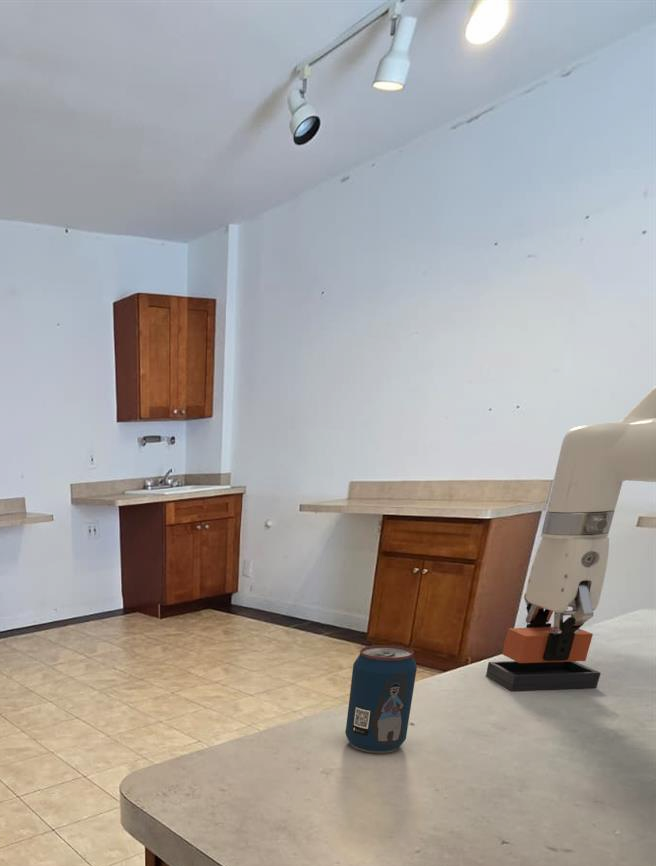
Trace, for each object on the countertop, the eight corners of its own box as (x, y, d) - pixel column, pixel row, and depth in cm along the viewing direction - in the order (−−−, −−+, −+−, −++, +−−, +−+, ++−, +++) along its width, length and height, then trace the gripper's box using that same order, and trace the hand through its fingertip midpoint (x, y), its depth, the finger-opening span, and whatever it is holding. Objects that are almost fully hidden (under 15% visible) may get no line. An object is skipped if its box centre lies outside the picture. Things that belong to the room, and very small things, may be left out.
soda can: (366, 729, 84) (377, 640, 79) (416, 745, 79) (431, 650, 74) (332, 743, 81) (342, 651, 76) (382, 760, 76) (396, 662, 71)
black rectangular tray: (565, 672, 99) (568, 658, 98) (596, 688, 92) (601, 672, 92) (485, 676, 101) (488, 661, 100) (511, 691, 94) (514, 676, 93)
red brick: (564, 652, 97) (571, 626, 95) (585, 661, 92) (593, 633, 91) (502, 654, 98) (507, 628, 96) (519, 663, 93) (525, 636, 92)
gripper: (650, 529, 79) (608, 670, 87) (567, 519, 95) (538, 640, 102) (585, 532, 80) (549, 672, 88) (514, 522, 95) (488, 642, 103)
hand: (544, 653), depth 95 cm, fingers closed on red brick, 5 cm apart
